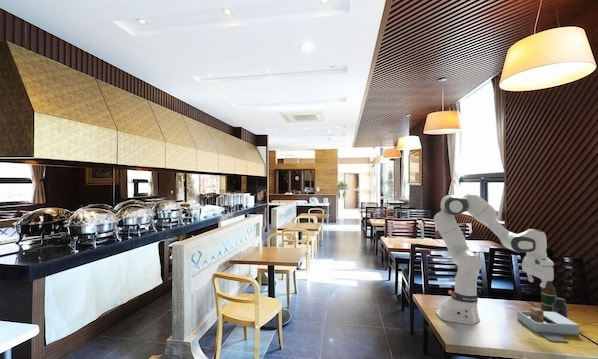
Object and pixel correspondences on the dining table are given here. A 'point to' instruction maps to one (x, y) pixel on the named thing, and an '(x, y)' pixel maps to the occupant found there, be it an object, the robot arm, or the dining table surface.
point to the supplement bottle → (560, 307)
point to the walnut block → (536, 314)
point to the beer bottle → (547, 296)
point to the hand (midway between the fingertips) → (536, 284)
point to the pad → (553, 337)
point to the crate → (549, 323)
